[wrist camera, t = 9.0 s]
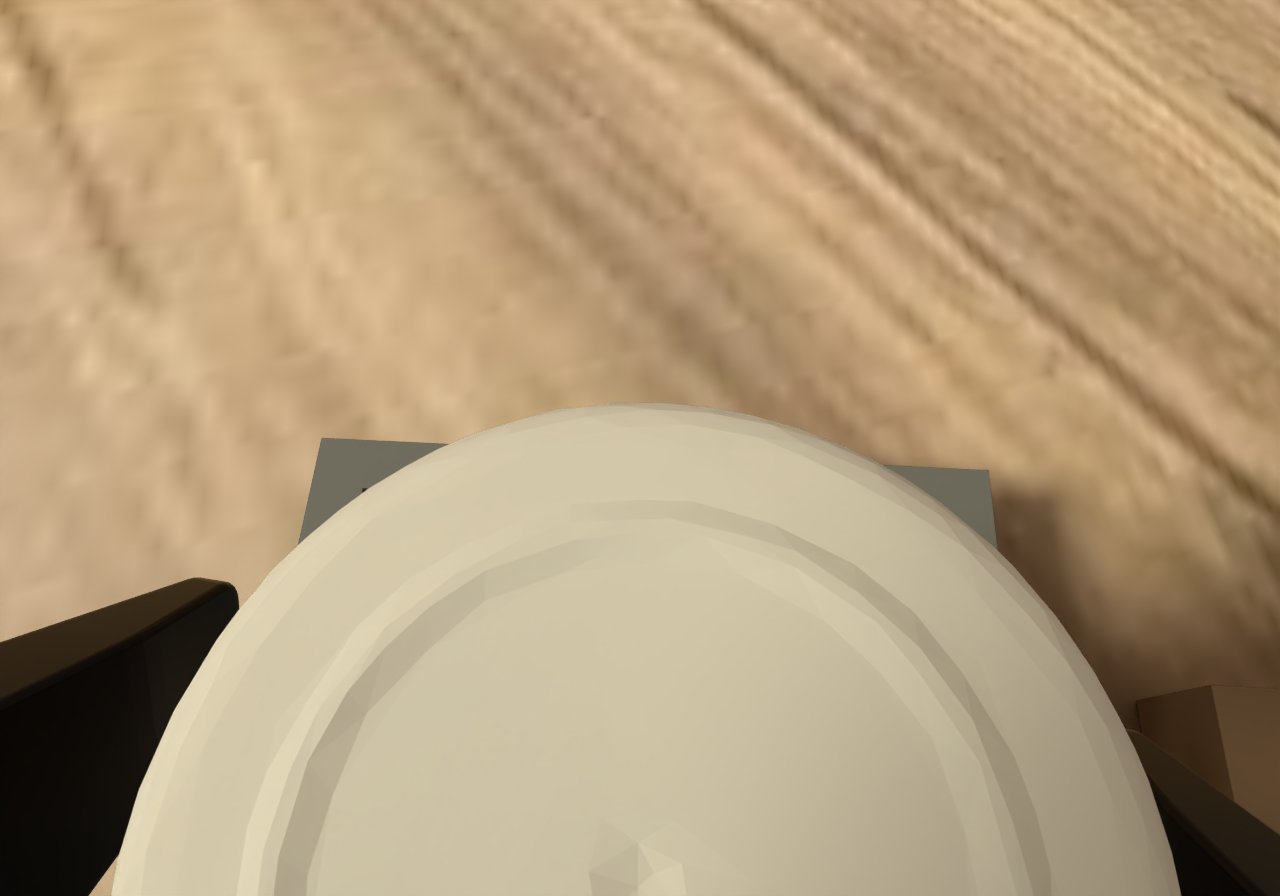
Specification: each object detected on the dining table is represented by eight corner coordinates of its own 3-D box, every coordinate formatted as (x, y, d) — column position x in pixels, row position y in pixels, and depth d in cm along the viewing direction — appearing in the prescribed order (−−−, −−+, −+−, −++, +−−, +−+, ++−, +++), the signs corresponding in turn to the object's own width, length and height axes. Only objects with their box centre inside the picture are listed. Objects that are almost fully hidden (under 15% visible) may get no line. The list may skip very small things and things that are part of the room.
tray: (1002, 1266, 14) (1091, 1381, 11) (229, 1208, 14) (130, 1305, 12) (939, 518, 19) (988, 470, 16) (368, 489, 19) (321, 437, 17)
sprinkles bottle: (577, 664, 17) (388, 260, 4) (797, 748, 16) (1294, 547, 4) (481, 908, 15) (-257, 1353, 3) (724, 1012, 14) (1188, 2210, 2)
